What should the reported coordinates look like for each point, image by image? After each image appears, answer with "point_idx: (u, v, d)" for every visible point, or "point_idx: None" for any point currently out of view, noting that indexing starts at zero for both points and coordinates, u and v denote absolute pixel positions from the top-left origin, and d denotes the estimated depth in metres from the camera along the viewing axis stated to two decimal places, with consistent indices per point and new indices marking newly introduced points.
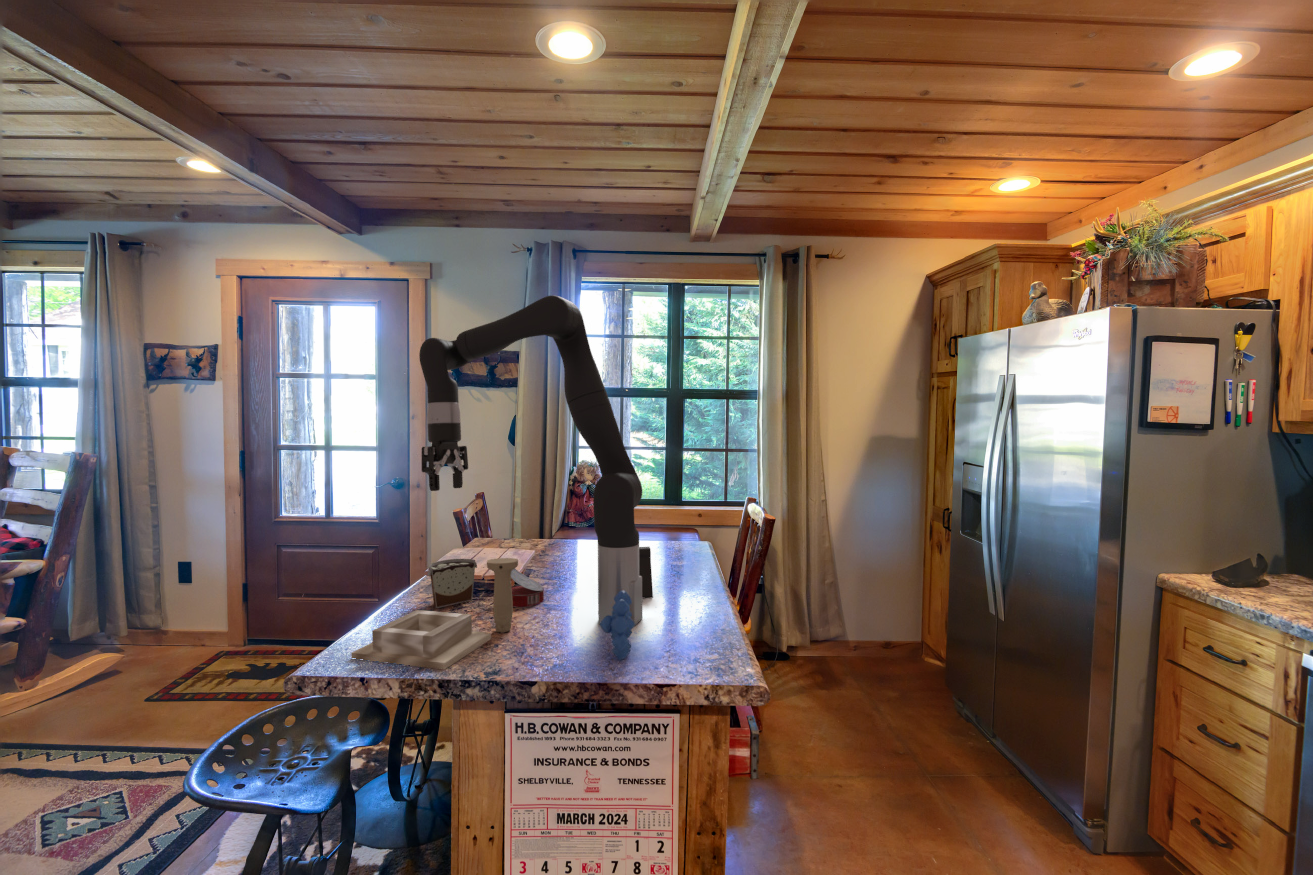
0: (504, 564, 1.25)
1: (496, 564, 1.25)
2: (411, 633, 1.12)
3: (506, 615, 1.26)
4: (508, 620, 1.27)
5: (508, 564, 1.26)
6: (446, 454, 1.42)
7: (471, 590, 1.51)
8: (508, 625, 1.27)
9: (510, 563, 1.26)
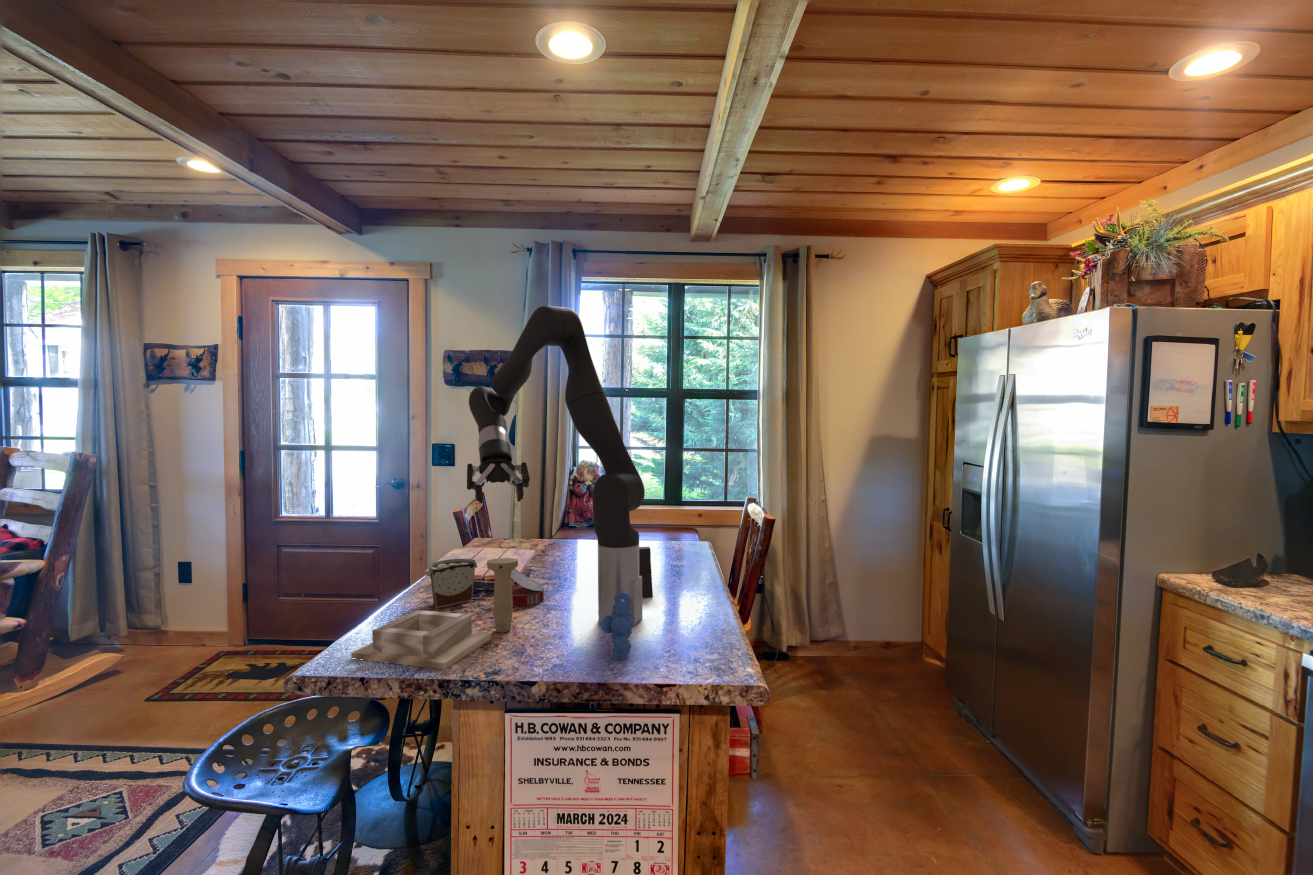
0: (504, 564, 1.25)
1: (496, 564, 1.25)
2: (411, 633, 1.12)
3: (506, 615, 1.26)
4: (508, 620, 1.27)
5: (508, 564, 1.26)
6: (489, 467, 1.41)
7: (471, 590, 1.51)
8: (508, 625, 1.27)
9: (510, 563, 1.26)
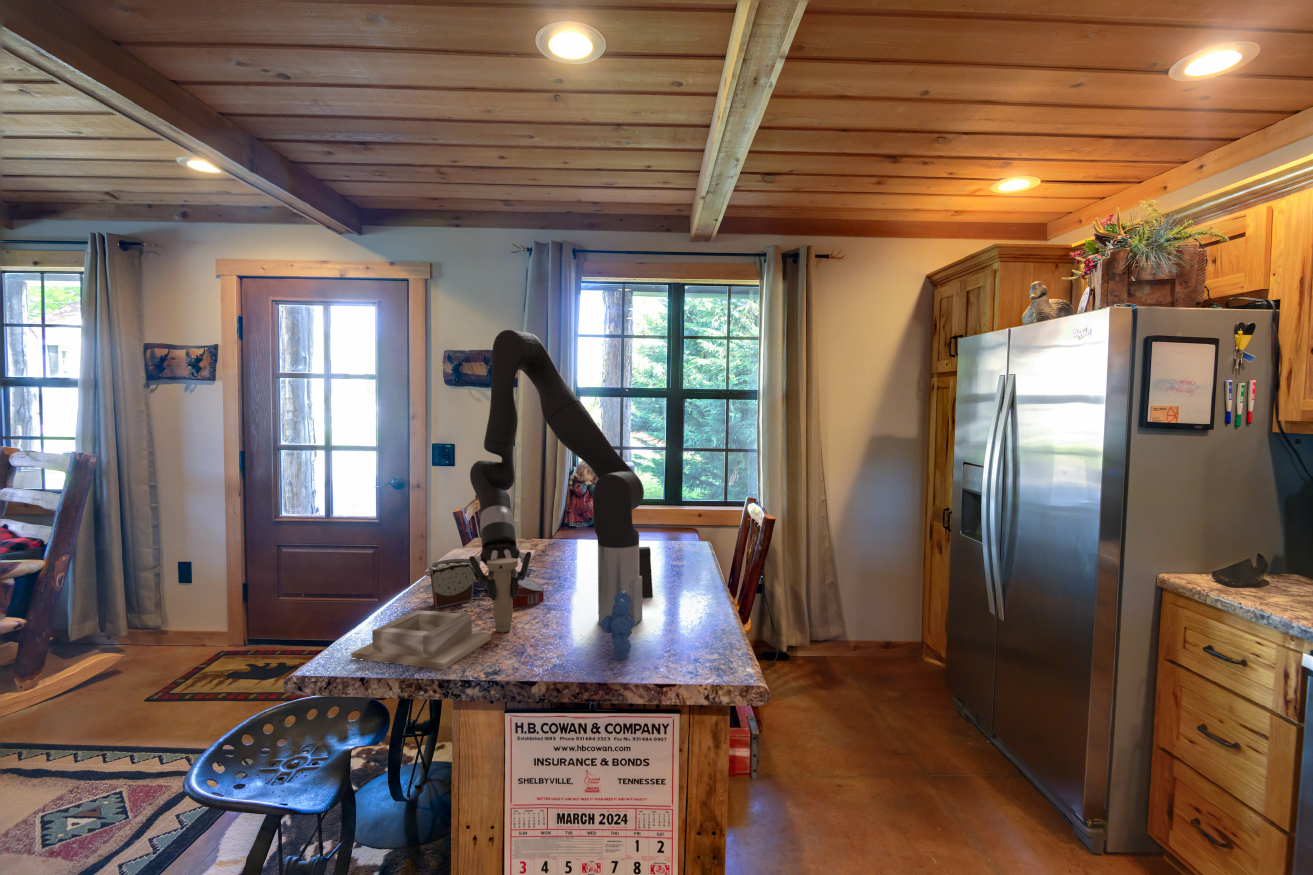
0: (504, 564, 1.25)
1: (496, 564, 1.25)
2: (411, 633, 1.12)
3: (506, 615, 1.26)
4: (508, 620, 1.27)
5: (508, 564, 1.26)
6: (493, 556, 1.30)
7: (471, 590, 1.51)
8: (508, 625, 1.27)
9: (510, 563, 1.26)
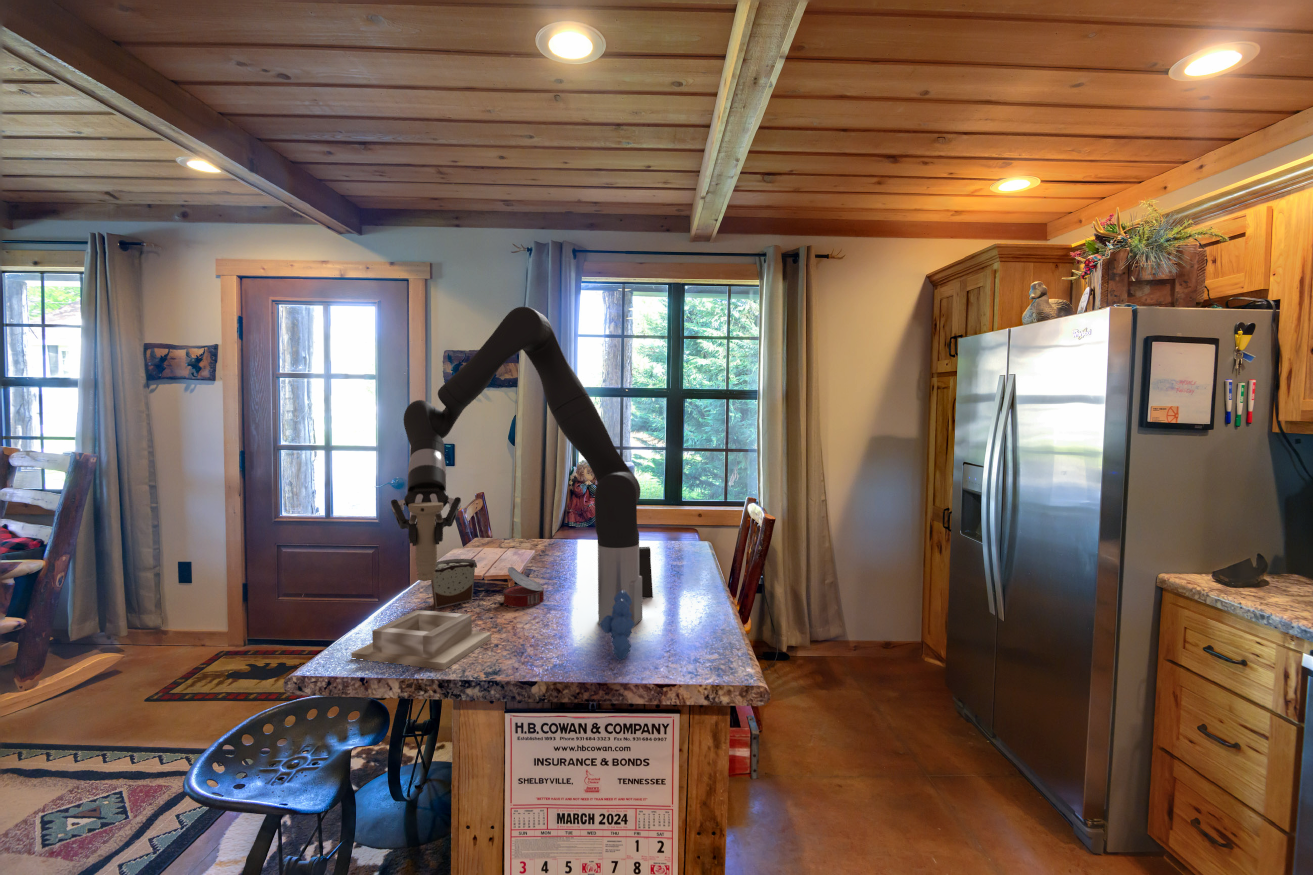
0: (426, 507, 1.16)
1: (417, 506, 1.16)
2: (411, 633, 1.12)
3: (428, 562, 1.17)
4: (431, 568, 1.18)
5: (431, 507, 1.16)
6: (417, 500, 1.21)
7: (471, 590, 1.51)
8: (431, 573, 1.18)
9: (433, 506, 1.17)
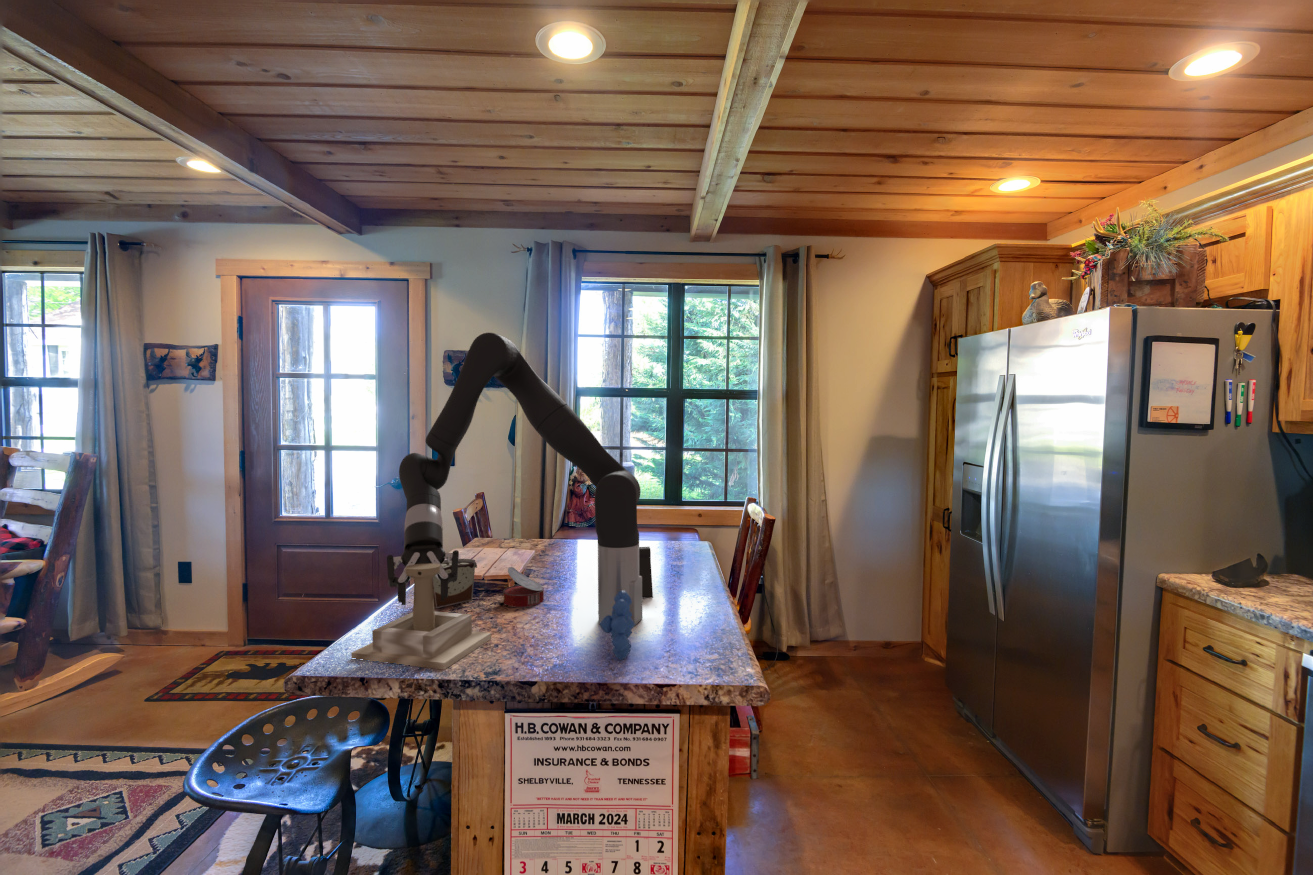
0: (423, 570, 1.16)
1: (414, 570, 1.15)
2: (411, 633, 1.12)
3: (426, 625, 1.17)
4: (429, 631, 1.17)
5: (428, 570, 1.16)
6: (413, 558, 1.20)
7: (471, 590, 1.51)
8: None
9: (430, 569, 1.16)
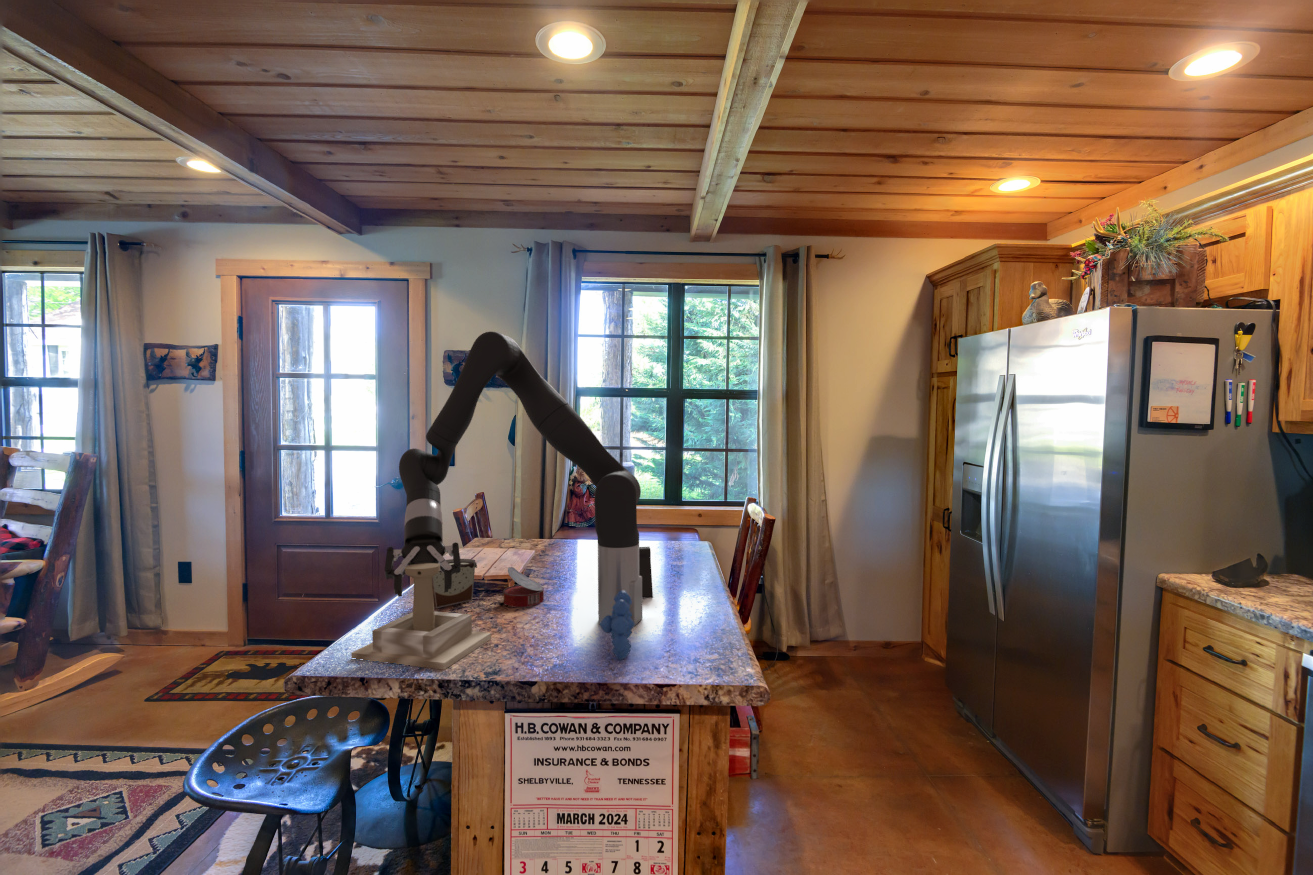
0: (423, 570, 1.16)
1: (414, 570, 1.16)
2: (411, 633, 1.12)
3: (426, 625, 1.17)
4: (429, 630, 1.17)
5: (427, 570, 1.16)
6: (412, 551, 1.21)
7: (471, 590, 1.51)
8: None
9: (430, 568, 1.16)
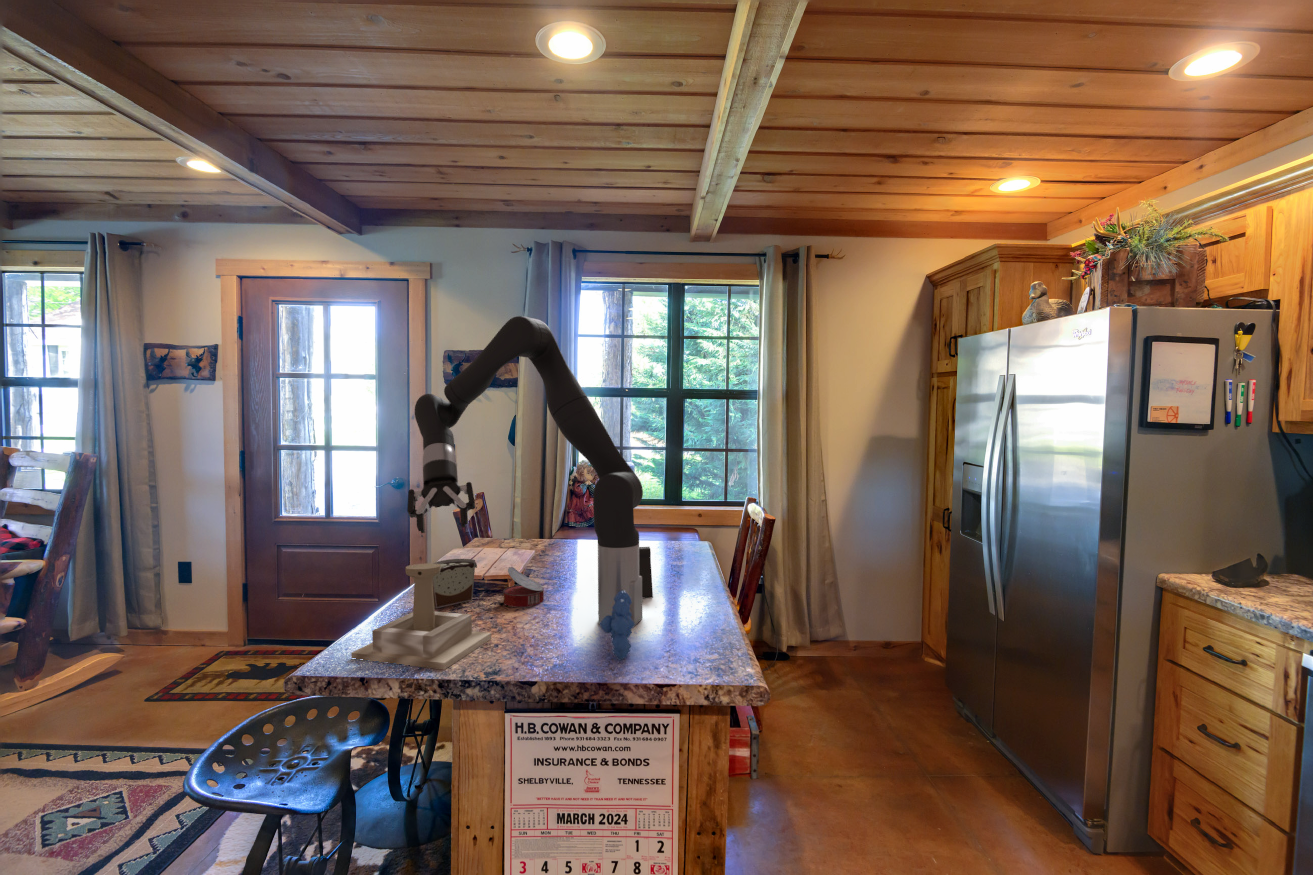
0: (423, 570, 1.16)
1: (414, 570, 1.15)
2: (411, 633, 1.12)
3: (426, 625, 1.17)
4: (429, 631, 1.17)
5: (428, 570, 1.16)
6: (430, 492, 1.35)
7: (471, 590, 1.51)
8: None
9: (430, 569, 1.16)
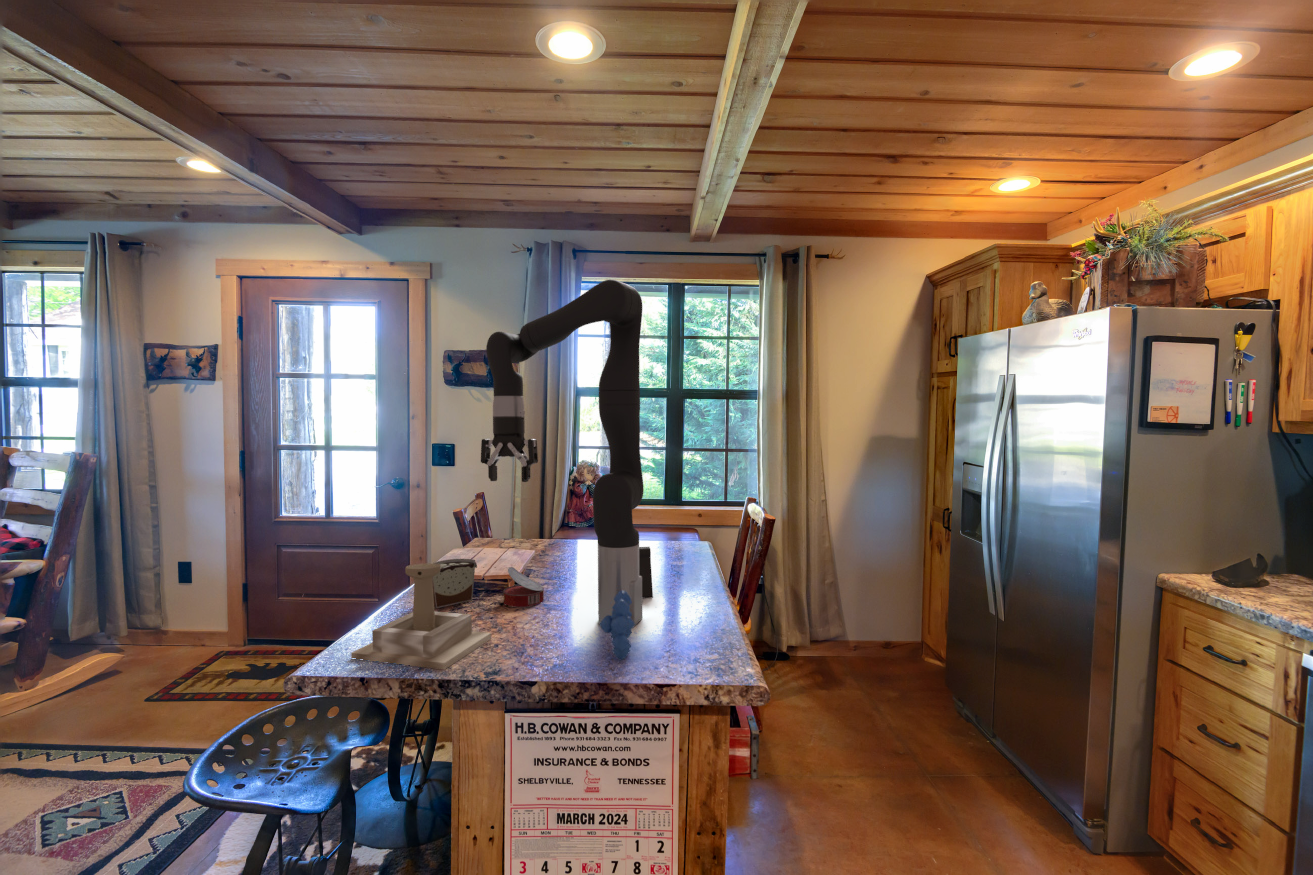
0: (423, 570, 1.16)
1: (414, 570, 1.15)
2: (411, 633, 1.12)
3: (426, 625, 1.17)
4: (429, 631, 1.17)
5: (428, 570, 1.16)
6: (497, 447, 1.45)
7: (471, 590, 1.51)
8: None
9: (430, 569, 1.16)
